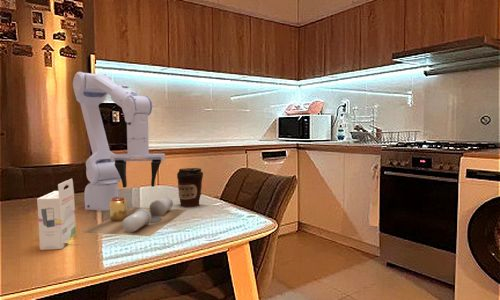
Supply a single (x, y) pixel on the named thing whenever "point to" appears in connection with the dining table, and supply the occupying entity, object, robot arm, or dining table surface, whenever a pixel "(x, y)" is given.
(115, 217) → the tan red-topped cylinder
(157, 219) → the flange seat
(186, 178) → the coffee cup
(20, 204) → the dining table surface
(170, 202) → the pipe stubs
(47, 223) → the ink box
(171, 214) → the board
